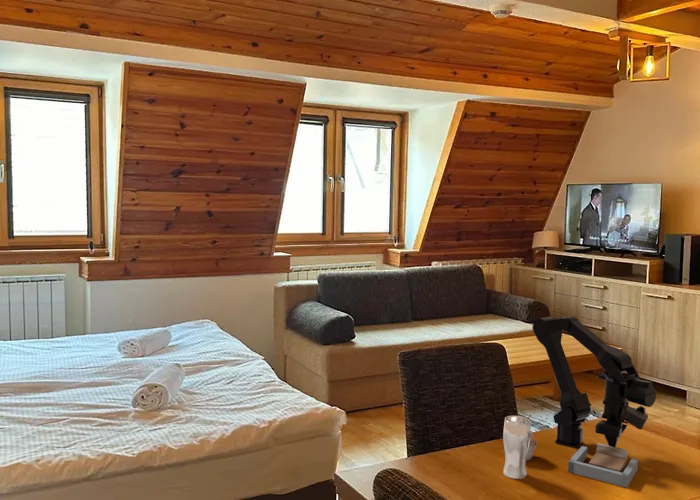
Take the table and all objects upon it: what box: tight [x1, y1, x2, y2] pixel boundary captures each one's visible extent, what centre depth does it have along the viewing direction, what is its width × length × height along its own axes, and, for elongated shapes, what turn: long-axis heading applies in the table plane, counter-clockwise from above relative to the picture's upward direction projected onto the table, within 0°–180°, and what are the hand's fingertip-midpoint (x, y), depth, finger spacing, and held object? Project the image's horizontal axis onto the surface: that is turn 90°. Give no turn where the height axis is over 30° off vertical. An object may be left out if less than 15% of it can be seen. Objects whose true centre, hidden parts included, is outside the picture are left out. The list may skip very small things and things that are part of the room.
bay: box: [567, 445, 639, 488], centre depth 171 cm, size 15×14×3 cm
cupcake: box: [526, 429, 538, 462], centre depth 179 cm, size 9×9×10 cm
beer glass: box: [502, 415, 531, 480], centre depth 167 cm, size 7×7×15 cm
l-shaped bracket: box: [588, 442, 628, 473], centre depth 174 cm, size 8×10×4 cm
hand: (612, 449), depth 179 cm, fingers closed
